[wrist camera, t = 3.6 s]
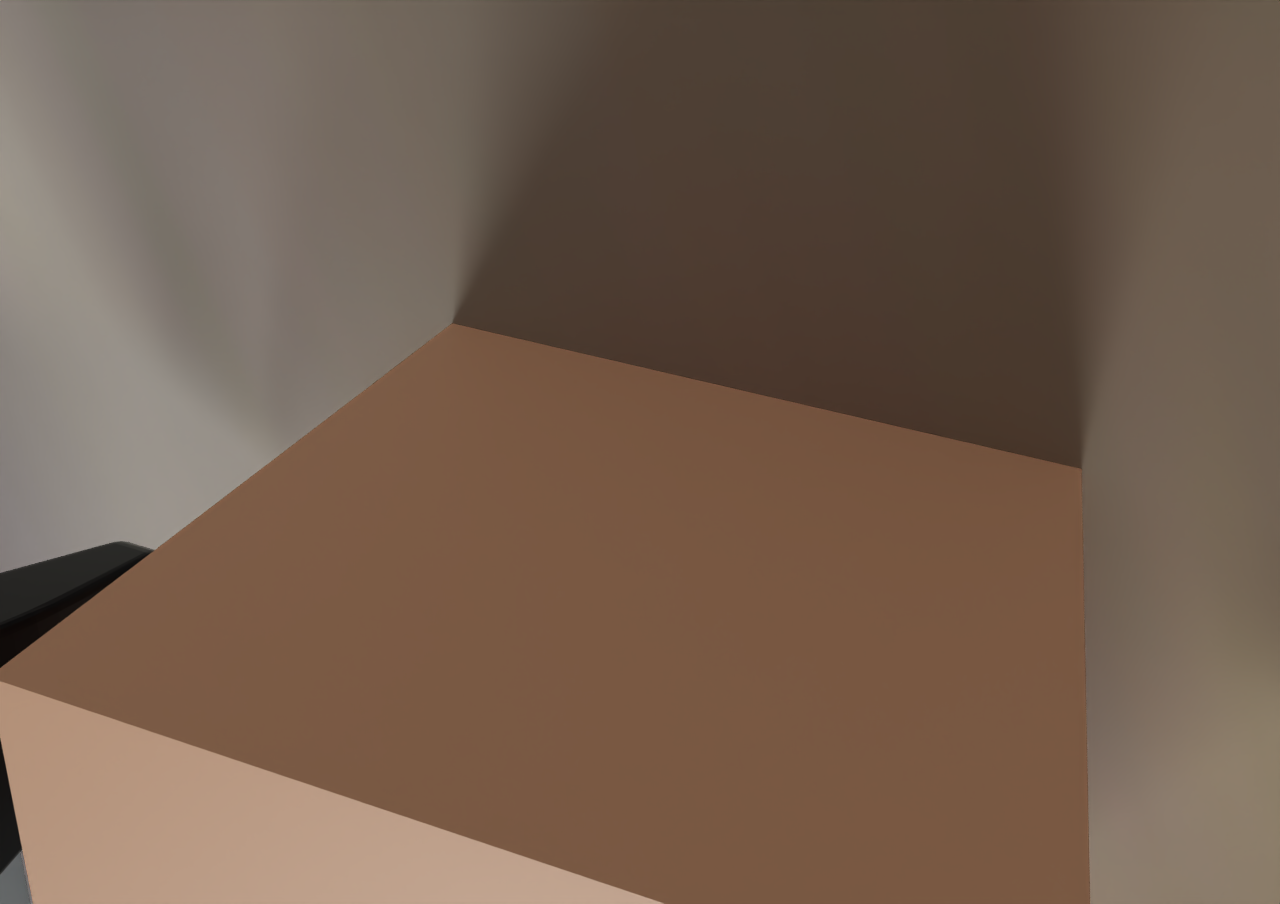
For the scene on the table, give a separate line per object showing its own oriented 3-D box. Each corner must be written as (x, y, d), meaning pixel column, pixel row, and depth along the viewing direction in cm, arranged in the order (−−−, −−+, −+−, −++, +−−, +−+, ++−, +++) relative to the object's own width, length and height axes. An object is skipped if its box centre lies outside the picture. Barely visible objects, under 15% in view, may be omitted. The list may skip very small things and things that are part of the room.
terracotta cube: (1081, 464, 9) (1092, 1046, 4) (930, 931, 11) (844, 1603, 7) (456, 320, 10) (-12, 676, 6) (440, 774, 12) (104, 1266, 8)
